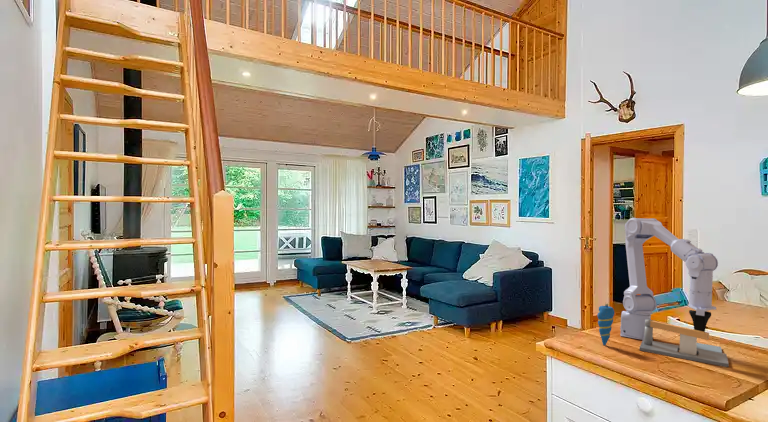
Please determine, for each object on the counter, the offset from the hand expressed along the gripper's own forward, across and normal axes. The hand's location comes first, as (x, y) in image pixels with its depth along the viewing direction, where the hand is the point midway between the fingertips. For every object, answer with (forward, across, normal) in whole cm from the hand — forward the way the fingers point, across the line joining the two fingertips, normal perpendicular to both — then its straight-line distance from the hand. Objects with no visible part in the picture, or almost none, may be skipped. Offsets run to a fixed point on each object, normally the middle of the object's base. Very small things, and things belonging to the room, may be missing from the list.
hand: (699, 334), depth 133 cm
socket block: (+8, +3, +4) cm, 10 cm away
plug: (+8, +3, +3) cm, 9 cm away
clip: (+1, 0, +6) cm, 6 cm away
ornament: (+8, -5, +26) cm, 27 cm away
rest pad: (+8, +15, -2) cm, 17 cm away
